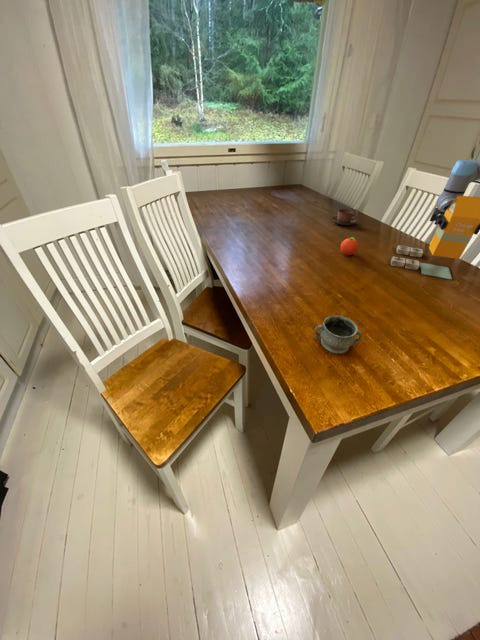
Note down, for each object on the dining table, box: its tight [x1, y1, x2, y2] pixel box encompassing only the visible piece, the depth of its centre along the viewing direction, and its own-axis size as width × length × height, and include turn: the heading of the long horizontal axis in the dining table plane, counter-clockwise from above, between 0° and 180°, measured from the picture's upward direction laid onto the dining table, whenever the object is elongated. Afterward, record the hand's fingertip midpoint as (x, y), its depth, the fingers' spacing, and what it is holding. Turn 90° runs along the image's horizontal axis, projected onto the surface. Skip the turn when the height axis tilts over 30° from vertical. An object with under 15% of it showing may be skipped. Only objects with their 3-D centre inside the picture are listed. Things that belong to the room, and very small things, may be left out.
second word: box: [390, 255, 453, 281], centre depth 107 cm, size 21×10×2 cm, turn 66°
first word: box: [396, 245, 424, 258], centre depth 117 cm, size 10×4×2 cm, turn 66°
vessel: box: [313, 314, 363, 354], centre depth 71 cm, size 12×9×6 cm
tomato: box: [340, 236, 359, 256], centre depth 114 cm, size 8×7×7 cm
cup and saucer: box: [332, 208, 358, 226], centre depth 144 cm, size 12×12×6 cm
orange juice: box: [428, 195, 480, 260], centre depth 96 cm, size 8×9×20 cm
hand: (460, 228), depth 92 cm, fingers closed on orange juice, 9 cm apart
